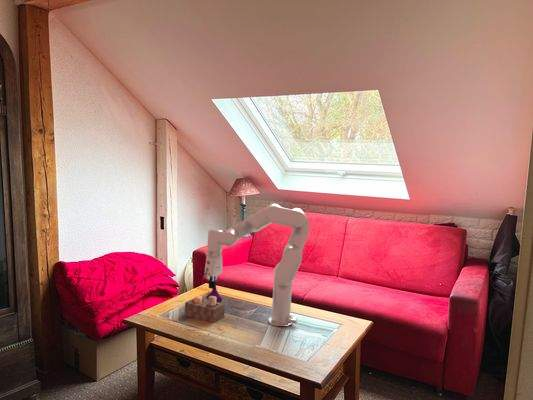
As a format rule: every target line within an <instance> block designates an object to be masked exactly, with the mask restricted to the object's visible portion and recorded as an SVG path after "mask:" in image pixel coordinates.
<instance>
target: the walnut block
mask: <svg viewBox="0 0 533 400" xmlns="http://www.w3.org/2000/svg"><path fill="white" fill-rule="evenodd" d="M208 303H209V300H208V299H207V298H202V303H200V304H198V303H194V298H192V299H190V300H188V301H185V302H184V316H186V317H189V318H193V319H196V320H201V321H205V322H208V323H211V324H214V323H216V322H217V321H219V320H222V319H223V318H225V308H226V303H223V302H220V303H219V302H216V306H215V307H210V306H208Z"/></svg>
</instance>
